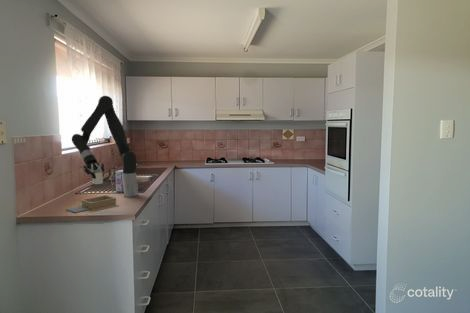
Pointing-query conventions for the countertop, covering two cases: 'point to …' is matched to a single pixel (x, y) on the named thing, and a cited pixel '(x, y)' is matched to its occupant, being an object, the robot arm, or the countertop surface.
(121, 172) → the candy box
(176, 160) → the countertop surface
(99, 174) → the tea box
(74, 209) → the slate mat
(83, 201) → the carton
